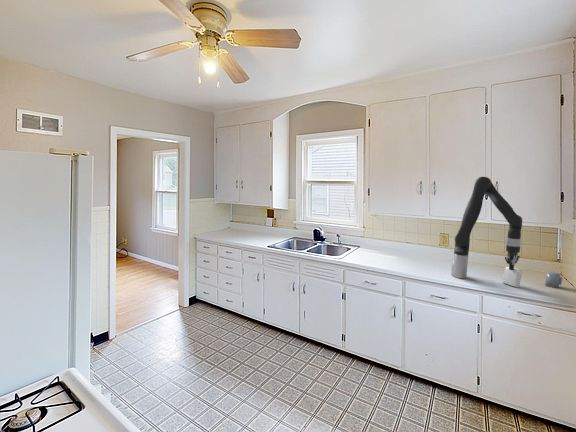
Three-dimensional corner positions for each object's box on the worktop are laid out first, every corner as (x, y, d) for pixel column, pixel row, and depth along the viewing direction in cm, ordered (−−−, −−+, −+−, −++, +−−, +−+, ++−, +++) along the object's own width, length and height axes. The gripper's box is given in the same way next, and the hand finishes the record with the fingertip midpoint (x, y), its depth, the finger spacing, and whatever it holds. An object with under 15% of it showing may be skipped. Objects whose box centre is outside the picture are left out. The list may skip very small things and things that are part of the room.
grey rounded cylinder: (545, 286, 203) (547, 273, 202) (544, 283, 209) (545, 271, 208) (561, 289, 198) (563, 276, 197) (559, 285, 204) (561, 273, 203)
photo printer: (501, 282, 210) (504, 265, 209) (505, 282, 211) (509, 265, 210) (515, 287, 200) (519, 269, 199) (520, 287, 201) (523, 269, 200)
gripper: (513, 242, 207) (511, 267, 209) (501, 244, 202) (499, 269, 204) (525, 244, 200) (523, 270, 203) (513, 246, 195) (511, 272, 197)
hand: (511, 269), depth 203 cm, fingers closed
